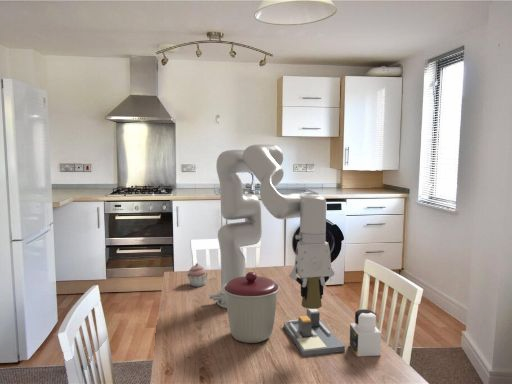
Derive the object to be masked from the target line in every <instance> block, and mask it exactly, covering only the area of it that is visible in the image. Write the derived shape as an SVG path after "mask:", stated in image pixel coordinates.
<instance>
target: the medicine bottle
mask: <svg viewBox="0 0 512 384" xmlns="http://www.w3.org/2000/svg"><path fill="white" fill-rule="evenodd" d="M354 314H355V315H354V322H351V323H349V324H350V325H349V346H350V348H351V349H352V351H353V353H354V354H355V355H356V357H359V358H360V357H376V356H377V357H378V356H381V355H382V354H381V352H382V351H381V350H382V332H381V331H380V329H378V327H377V314H376V313H375V312H374V311H372V310H369V309H366V308H365V309H364V308H363V309H358V310H357V311H356V312H355V313H354Z"/></svg>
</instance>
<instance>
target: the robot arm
mask: <svg viewBox="0 0 512 384" xmlns="http://www.w3.org/2000/svg"><path fill="white" fill-rule="evenodd" d="M283 161H284V154H283V151H282V149H281V148H280V147H278V146H277V145H275V144H253V145H249V146H247V147H246V148H245V149H227V150H225V151H223V152H221V153H220V154H219V155H218V156H217V158H216V166H215V167H216V173H217V177H218V181H219V187H220V189H219V190H220V191H219V192H220V193H219V195H220V211H221V216H222V217H223V219H224V220H227V221H233V220H234V221H235V220H244V221H240V222H232V223H226V224H223V225H222V226H221V227H219V229H218V231H217V240H218V245H219V251H220V287H221V288H220V290H219V292H216V293H209V295H208V296H209V297H208V299H209V300H213V301H216V303H217V305H218V306H219V307H221V308H224V309H227V304H226V295H225V292H224V290H223V286H224V284H226V283H227V282H229V281H230V280H232V279H235V278H238V277H244V276H246V257H245V254H244V253H243V252H242V251H241V248H243V247H248V246H254V245H256V244H258V243H259V242H260V241H261V238H262V232H263V231H262V205H263V206H264V207H265V209H266V210H267V211H268V212H269V214H270V215H272V216H273V217H274V218H275V219H277V220H288V219H295V218H299V232H298V234H295V237H294V239H295V240H299V241H297V244H296V249H295V256H294V267H293V269H292V270H291V272H290V274H289V278H290V279H292V280H293V281H296V282H297V284H299V285H300V296H301V297H302V298H303V297H304V296H305V300H307V291H308V288H307V287H306V283H307V278H313V277H320V280H319V288H320V298H321V300H322V299H323V295H324V287H325V285H326V283H327V282H328V280H329V279H331V278H332V277H334V276H335V273H336V272H335V271H334V269H333V268H332V259H331V258H332V257H331V250H330V245H329V241H328V242H327V241H326V239H327V238H326V236H327V234H326V233H327V232H326V231H327V230H326V229H327V199H326V198H325V197H323V196H321V195H312V194H309V193H307V192H306V193H305V192H294V193H293V192H292V193H280V192H278V191H277V189H276V188H275V187H277V186H278V185H279V183H280V182H281V181H282V180H283V177H284V175H285V174H284V169H283V168H282V167H281V165H282V164H283ZM238 173H252V174H253V175H254V176H255V177H256V179H257V180H258V181H259V182H260V184H259V185H260V186H259V194H260V195H259V197H260V199H261V202H260V199H259V198H258V197H257V196H256V195H255V194H252V193H243V182H242V180H241V178H240V176H239V175H238ZM261 203H262V205H261Z"/></svg>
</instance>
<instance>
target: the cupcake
mask: <svg viewBox="0 0 512 384" xmlns="http://www.w3.org/2000/svg"><path fill="white" fill-rule="evenodd" d="M186 276H187V279H188V280H189V284H190V286H191V287H194V288H196V287H197V288H201V287H203V286H205V284H206V281H207V277H208V272H206V268H204V267H203V266H202V265H201V264H200V263H198V262H196V263H195V265H192V266H191V268H189V270H188V272H187V275H186Z"/></svg>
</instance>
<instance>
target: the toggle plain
mask: <svg viewBox="0 0 512 384" xmlns="http://www.w3.org/2000/svg"><path fill="white" fill-rule="evenodd" d="M306 316H308V317H309V318H310V320H311V322H312V327H316V326H319V319H320V311H319V310H318V308H317V309H308V308H306ZM320 320H321V319H320Z"/></svg>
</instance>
